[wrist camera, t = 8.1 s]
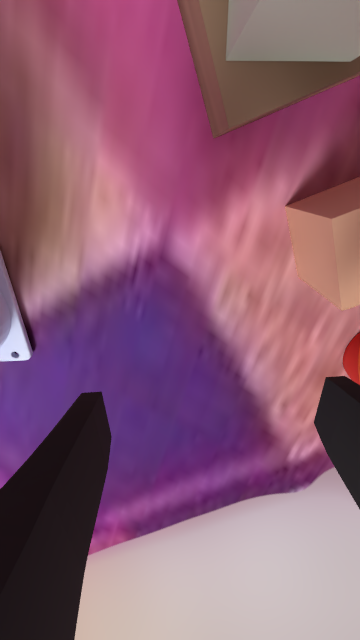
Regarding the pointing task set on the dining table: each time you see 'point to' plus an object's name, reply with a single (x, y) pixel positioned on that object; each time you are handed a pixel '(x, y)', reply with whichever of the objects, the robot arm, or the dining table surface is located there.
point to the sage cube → (293, 30)
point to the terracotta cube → (329, 242)
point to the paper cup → (353, 359)
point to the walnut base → (248, 72)
